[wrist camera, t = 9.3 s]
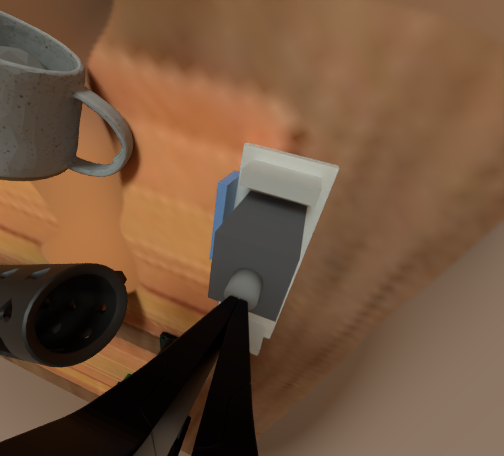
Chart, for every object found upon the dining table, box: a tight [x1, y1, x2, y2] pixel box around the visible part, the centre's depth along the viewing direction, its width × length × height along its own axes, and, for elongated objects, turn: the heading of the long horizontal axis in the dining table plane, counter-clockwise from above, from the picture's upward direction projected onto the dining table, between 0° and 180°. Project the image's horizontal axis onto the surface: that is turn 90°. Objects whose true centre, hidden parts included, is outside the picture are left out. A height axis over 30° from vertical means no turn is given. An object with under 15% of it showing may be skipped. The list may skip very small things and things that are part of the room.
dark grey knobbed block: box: [208, 191, 307, 322], centre depth 13 cm, size 4×4×7 cm
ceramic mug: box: [0, 11, 133, 181], centre depth 14 cm, size 11×8×8 cm
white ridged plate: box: [210, 143, 339, 356], centre depth 17 cm, size 18×7×3 cm, turn 168°
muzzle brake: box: [0, 263, 128, 367], centre depth 25 cm, size 10×28×10 cm, turn 103°
